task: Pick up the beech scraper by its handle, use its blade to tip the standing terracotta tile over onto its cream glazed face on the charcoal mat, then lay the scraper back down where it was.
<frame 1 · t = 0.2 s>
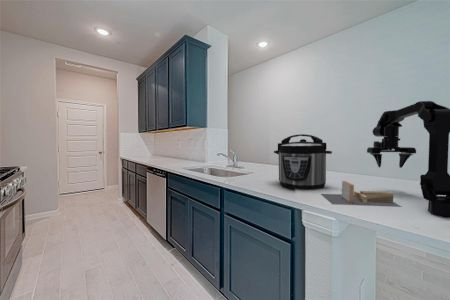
hand: (389, 167, 99), 14 cm above the counter, tool pointing down, fingers open, 9 cm apart
terracotta tile: (347, 199, 91), point 1 cm above the counter, touching charcoal mat
beech scraper: (376, 200, 89), point 1 cm above the counter, touching charcoal mat
charcoal mat: (356, 201, 91), on the counter
pressure cooker: (300, 186, 121), on the counter
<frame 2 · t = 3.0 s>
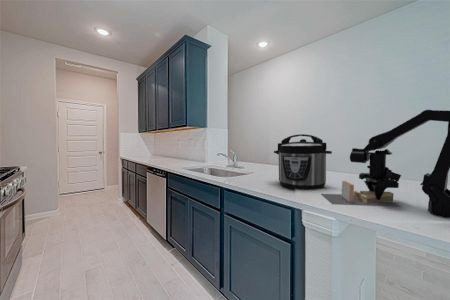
hand: (376, 198, 89), 2 cm above the counter, tool pointing down, fingers closed on beech scraper, 3 cm apart
beech scraper: (376, 200, 89), point 1 cm above the counter, touching charcoal mat, gripper
everything else where it was.
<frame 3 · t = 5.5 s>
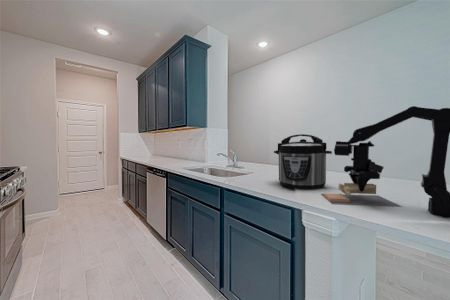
hand: (359, 190, 90), 6 cm above the counter, tool pointing down, fingers closed on beech scraper, 3 cm apart
terracotta tile: (345, 197, 91), point 2 cm above the counter, tilted 90°, touching charcoal mat
beech scraper: (359, 192, 90), point 4 cm above the counter, touching gripper
everything else where it was.
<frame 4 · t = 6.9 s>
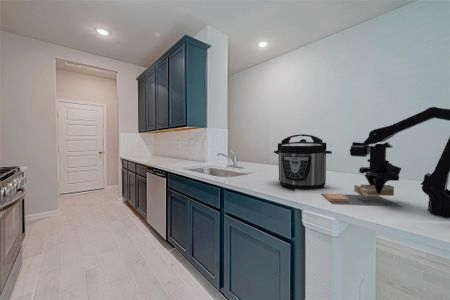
hand: (376, 192, 89), 5 cm above the counter, tool pointing down, fingers closed on beech scraper, 3 cm apart
beech scraper: (376, 194, 89), point 4 cm above the counter, touching gripper
everything else where it was.
when the fingers open (2 cm above the counter, at t = 7.9 s): beech scraper stays where it is, resting on charcoal mat.
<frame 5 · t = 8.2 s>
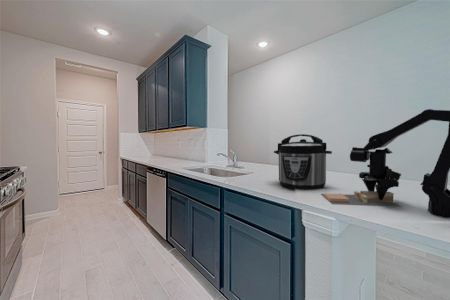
hand: (376, 197, 89), 2 cm above the counter, tool pointing down, fingers open, 6 cm apart
beech scraper: (376, 200, 89), point 1 cm above the counter, touching charcoal mat
everything else where it was.
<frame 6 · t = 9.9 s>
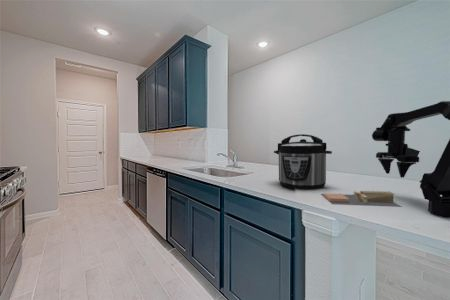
hand: (394, 175, 91), 12 cm above the counter, tool pointing down, fingers open, 9 cm apart
nothing on the counter moved.
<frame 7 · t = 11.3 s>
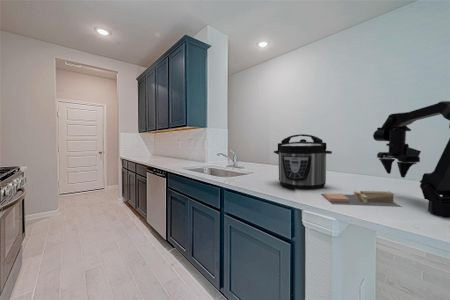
hand: (395, 175, 91), 12 cm above the counter, tool pointing down, fingers open, 9 cm apart
nothing on the counter moved.
at the end: terracotta tile tilted 90°; the gripper is holding nothing; beech scraper moved 0.1 cm from its start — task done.
